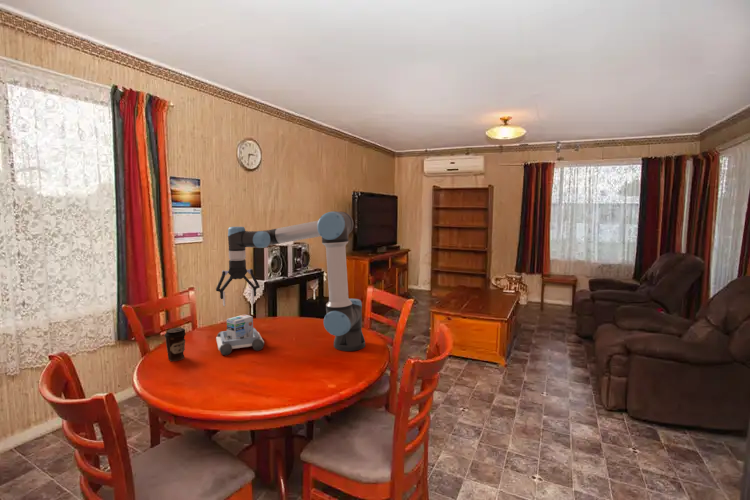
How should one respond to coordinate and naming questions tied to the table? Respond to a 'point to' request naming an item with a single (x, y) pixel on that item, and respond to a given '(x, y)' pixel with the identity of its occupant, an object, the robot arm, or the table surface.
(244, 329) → the light bulb box
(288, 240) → the robot arm
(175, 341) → the coffee cup
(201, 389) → the table surface
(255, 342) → the chassis
